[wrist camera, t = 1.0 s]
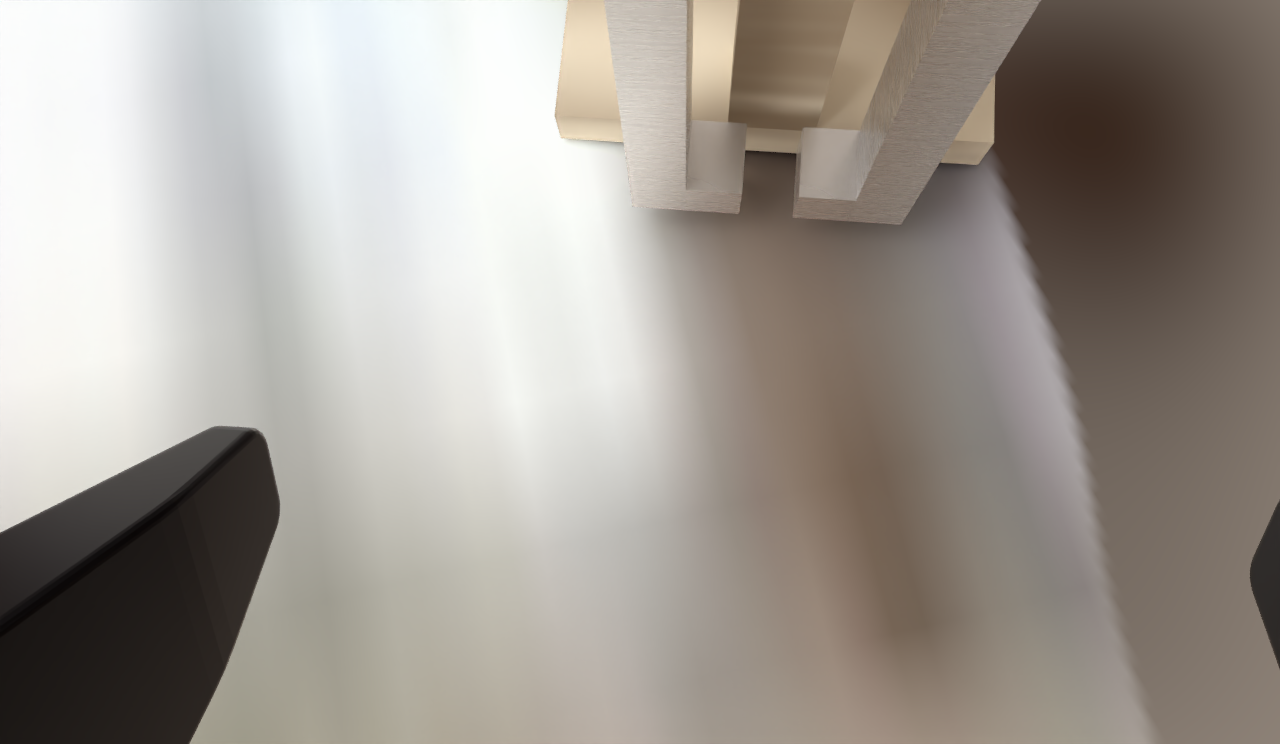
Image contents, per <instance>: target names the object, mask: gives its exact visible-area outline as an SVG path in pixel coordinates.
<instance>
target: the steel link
mask: <svg viewBox="0 0 1280 744" xmlns="http://www.w3.org/2000/svg"><path fill="white" fill-rule="evenodd" d="M1040 1H1041V0H911V1H910V4H909V6H908V9H907V11H906V14H905V17H904V19H903V22H902V24H901V27H900V29H899V32H898V34H897V37H896V39H895V42H894V44H893V47H892V49H891V52H890V54H889V57H888V59H887V62H886V64H885V67H884V70H883V72H882V75H881V77H880V80H879V82H878V85H877V87H876V90H875V92H874V95H873V97H872V100H871V102H870V105H869V107H868V110H867V112H866V115H865V117H864V120H863V123H862V125H861V128H860V130H843V129H827V128H811V127H803V129H802V133H801V136H800V140H799V144H798V148H797V153H796V169H795V186H794V203H793V218H808V219H823V220H838V221H853V222H867V223H882V224H897V225H901V224H902V223H903V221H904V219H905V218H906V216H907V215H908V213H909V211H910V210H911V208H912V206H913V205H914V203H915V202H916V200H917V198H918V197H919V195H920V194H921V192H922V190H923V189H924V187H925V186H926V184H927V182H928V181H929V179H930V178H931V176H932V174H933V173H934V171H935V170H936V168H937V166H938V165H939V163H940V162H941V160H942V158H943V157H944V155H945V153H946V152H947V150H948V149H949V147H950V145H951V144H952V142H953V141H954V139H955V137H956V136H957V134H958V133H959V131H960V129H961V128H962V126H963V125H964V123H965V121H966V120H967V118H968V117H969V115H970V113H971V112H972V110H973V108H974V107H975V105H976V104H977V102H978V100H979V99H980V97H981V96H982V94H983V92H984V91H985V89H986V88H987V86H988V84H989V83H990V81H991V80H992V78H993V76H994V75H995V73H996V72H997V70H998V68H999V67H1000V65H1001V63H1002V62H1003V60H1004V59H1005V57H1006V55H1007V54H1008V52H1009V51H1010V49H1011V47H1012V46H1013V44H1014V43H1015V41H1016V39H1017V38H1018V36H1019V35H1020V33H1021V31H1022V30H1023V28H1024V27H1025V25H1026V23H1027V22H1028V20H1029V18H1030V17H1031V15H1032V14H1033V12H1034V10H1035V9H1036V7H1037V6H1038V4H1039V2H1040ZM604 4H605V11H606V19H607V26H608V33H609V40H610V47H611V55H612V62H613V69H614V76H615V83H616V91H617V98H618V105H619V112H620V120H621V127H622V134H623V141H624V148H625V156H626V163H627V170H628V177H629V184H630V192H631V199H632V206H633V207H646V208H661V209H675V210H690V211H705V212H720V213H734V214H739V210H740V203H741V197H742V187H743V173H744V159H745V145H746V131H747V124H746V123H730V122H714V121H698V120H692V64H693V7H694V0H604Z"/></svg>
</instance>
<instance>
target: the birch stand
mask: <svg viewBox="0 0 1280 744" xmlns="http://www.w3.org/2000/svg"><path fill="white" fill-rule="evenodd" d="M910 1H911V0H694V7H693V64H692V120H698V121H714V122H730V123H746V124H747V131H746V145H745V150H752V151H768V152H784V153H797V148H798V144H799V140H800V136H801V133H802V129H803V127H811V128H827V129H843V130H860V128H861V125H862V123H863V120H864V117H865V115H866V112H867V110H868V107H869V105H870V102H871V100H872V97H873V95H874V92H875V90H876V87H877V85H878V82H879V80H880V77H881V75H882V72H883V70H884V67H885V64H886V62H887V59H888V57H889V54H890V52H891V49H892V47H893V44H894V42H895V39H896V37H897V34H898V32H899V29H900V27H901V24H902V22H903V19H904V17H905V14H906V11H907V9H908V6H909V4H910ZM994 104H995V75H994V76H993V78H992V80H991V81H990V83H989V84H988V86H987V88H986V89H985V91H984V92H983V94H982V96H981V97H980V99H979V100H978V102H977V104H976V105H975V107H974V108H973V110H972V112H971V113H970V115H969V117H968V118H967V120H966V121H965V123H964V125H963V126H962V128H961V129H960V131H959V133H958V134H957V136H956V137H955V139H954V141H953V142H952V144H951V145H950V147H949V149H948V150H947V152H946V153H945V155H944V157H943V158H942V160H941V162H940V163H956V164H972V165H978V164H979V163H980V161H981V160H982V159H983V157H984V156H985V155H986V153H987V152H988V150H989V149H990V148H991V146H992V145H993V143H994V106H995V105H994ZM555 118H556V122H557V126H558V129H559V133H560V136H561V138H565V139H580V140H596V141H611V142H624V141H623V134H622V127H621V120H620V112H619V105H618V98H617V91H616V83H615V76H614V69H613V62H612V55H611V47H610V40H609V33H608V26H607V19H606V11H605V4H604V0H568V4H567V13H566V21H565V30H564V39H563V48H562V56H561V65H560V74H559V82H558V91H557V100H556V108H555Z"/></svg>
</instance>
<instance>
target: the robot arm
mask: <svg viewBox="0 0 1280 744" xmlns="http://www.w3.org/2000/svg"><path fill="white" fill-rule="evenodd" d="M279 516H280V500H279V494H278V490H277V485H276V481H275V476H274V471H273V467H272V462H271V458H270V453H269V449H268V445H267V442H266V439H265V437H264V435H263V434H262V433H261V432H260V431H259V430H257V429H255V428H247V427H230V426H215V427H211V428H209V429H207V430H205V431H203V432H201V433H199V434H197V435H195V436H193V437H191V438H189V439H187V440H185V441H183V442H181V443H179V444H177V445H175V446H173V447H171V448H169V449H167V450H165V451H163V452H161V453H159V454H157V455H155V456H153V457H151V458H149V459H147V460H145V461H143V462H141V463H139V464H137V465H135V466H133V467H131V468H129V469H127V470H125V471H123V472H121V473H119V474H117V475H115V476H113V477H111V478H109V479H107V480H105V481H103V482H101V483H99V484H97V485H95V486H93V487H91V488H89V489H87V490H85V491H83V492H81V493H79V494H77V495H75V496H73V497H71V498H69V499H67V500H65V501H63V502H61V503H59V504H57V505H55V506H53V507H51V508H49V509H47V510H45V511H43V512H41V513H39V514H37V515H35V516H33V517H31V518H29V519H27V520H25V521H23V522H21V523H19V524H17V525H15V526H13V527H11V528H9V529H7V530H5V531H3V532H1V533H0V744H189V743H190V741H191V739H192V737H193V735H194V733H195V731H196V729H197V727H198V725H199V723H200V721H201V719H202V717H203V715H204V713H205V711H206V709H207V707H208V705H209V703H210V701H211V699H212V697H213V695H214V693H215V690H216V688H217V686H218V684H219V682H220V680H221V677H222V675H223V673H224V671H225V669H226V666H227V664H228V661H229V658H230V656H231V653H232V651H233V648H234V646H235V643H236V640H237V637H238V635H239V632H240V629H241V626H242V623H243V621H244V618H245V615H246V612H247V609H248V607H249V604H250V601H251V598H252V596H253V593H254V590H255V587H256V584H257V582H258V579H259V576H260V573H261V570H262V568H263V565H264V562H265V559H266V556H267V554H268V551H269V548H270V545H271V542H272V540H273V537H274V534H275V531H276V528H277V525H278V521H279ZM1250 581H1251V587H1252V591H1253V594H1254V597H1255V600H1256V603H1257V606H1258V608H1259V611H1260V614H1261V617H1262V620H1263V623H1264V626H1265V628H1266V631H1267V634H1268V637H1269V640H1270V643H1271V645H1272V648H1273V651H1274V654H1275V657H1276V660H1277V663H1278V666H1279V668H1280V501H1279V502H1278V504H1277V506H1276V508H1275V510H1274V513H1273V515H1272V517H1271V520H1270V522H1269V524H1268V526H1267V528H1266V530H1265V533H1264V535H1263V537H1262V539H1261V541H1260V544H1259V546H1258V548H1257V550H1256V553H1255V555H1254V557H1253V560H1252V563H1251V568H1250Z"/></svg>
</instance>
